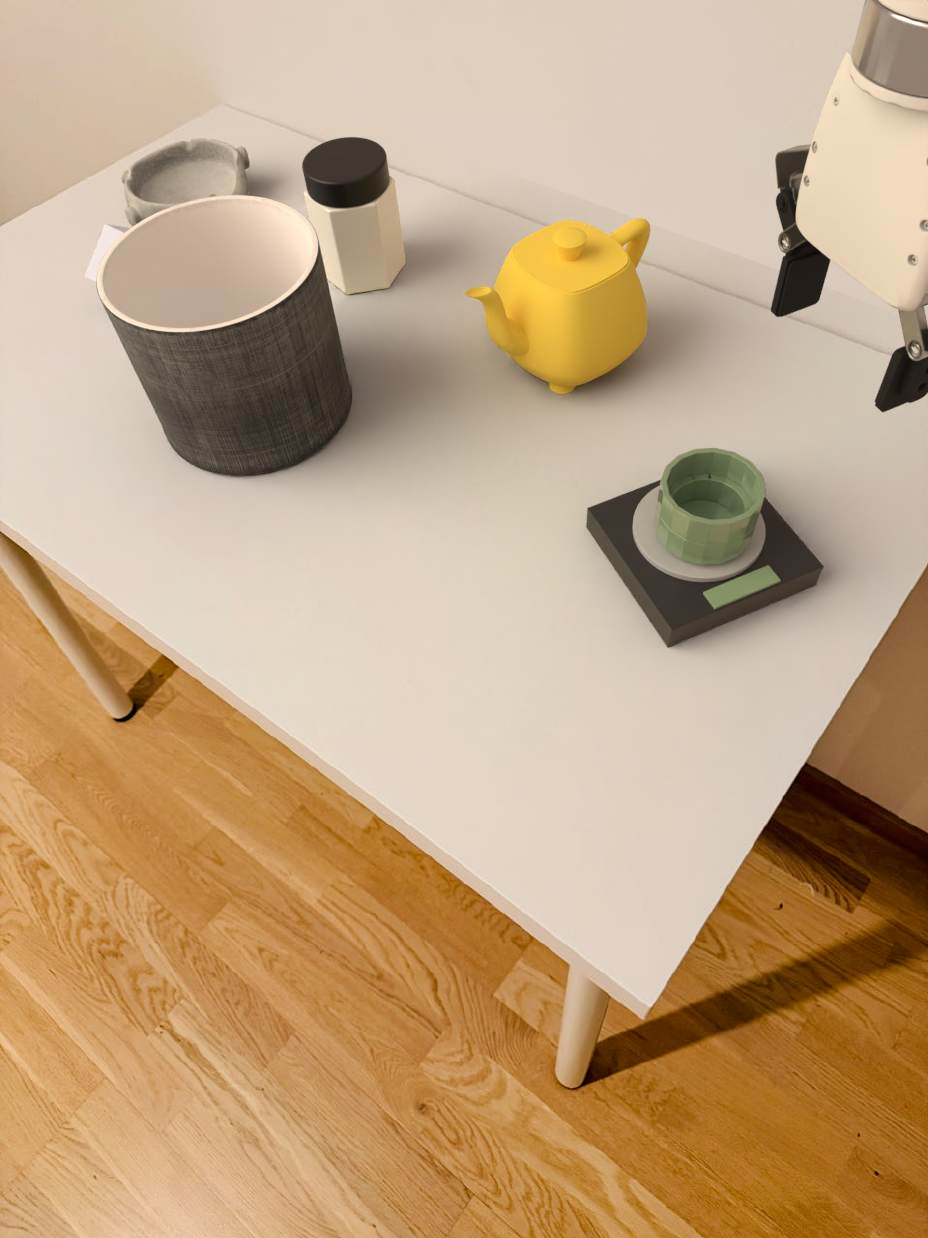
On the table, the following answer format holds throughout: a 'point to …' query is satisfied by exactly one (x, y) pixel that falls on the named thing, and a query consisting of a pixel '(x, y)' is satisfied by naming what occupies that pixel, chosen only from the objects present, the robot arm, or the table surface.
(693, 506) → the green cup
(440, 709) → the table surface
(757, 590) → the scale
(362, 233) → the jar
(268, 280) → the planter
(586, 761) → the table surface
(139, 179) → the dish
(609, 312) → the teapot
